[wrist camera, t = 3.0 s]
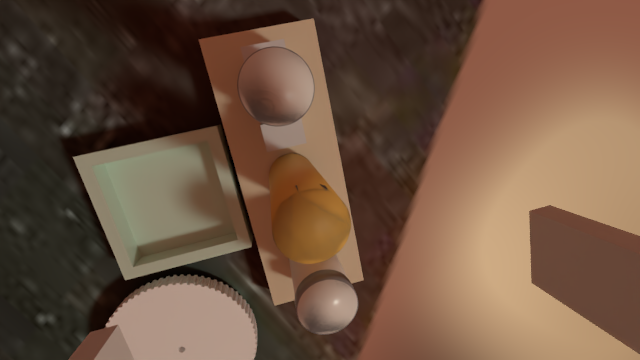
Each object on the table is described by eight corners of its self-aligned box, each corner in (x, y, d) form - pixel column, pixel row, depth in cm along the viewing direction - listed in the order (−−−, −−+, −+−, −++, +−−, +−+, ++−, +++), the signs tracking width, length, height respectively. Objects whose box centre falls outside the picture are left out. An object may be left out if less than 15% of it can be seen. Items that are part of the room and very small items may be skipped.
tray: (90, 152, 26) (72, 157, 24) (220, 124, 27) (216, 126, 25) (136, 266, 29) (125, 280, 26) (252, 235, 30) (251, 246, 28)
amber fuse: (263, 159, 26) (262, 199, 15) (309, 148, 27) (343, 179, 15) (275, 202, 27) (282, 272, 16) (318, 191, 28) (357, 252, 16)
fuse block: (204, 45, 26) (158, -1, 15) (309, 26, 27) (340, -31, 16) (273, 290, 32) (278, 388, 21) (356, 267, 33) (402, 348, 22)
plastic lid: (278, 293, 32) (279, 308, 30) (227, 399, 34) (224, 421, 32) (141, 249, 29) (130, 262, 26) (92, 370, 31) (77, 392, 28)
